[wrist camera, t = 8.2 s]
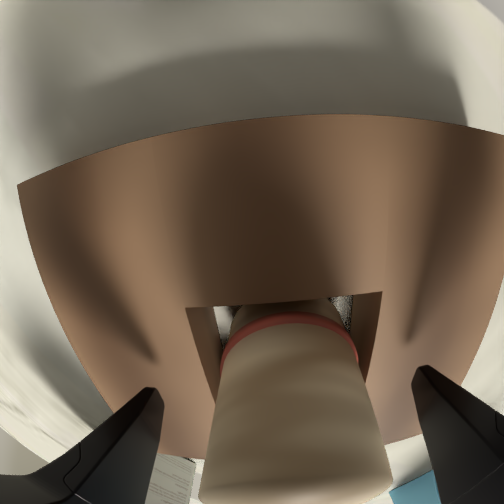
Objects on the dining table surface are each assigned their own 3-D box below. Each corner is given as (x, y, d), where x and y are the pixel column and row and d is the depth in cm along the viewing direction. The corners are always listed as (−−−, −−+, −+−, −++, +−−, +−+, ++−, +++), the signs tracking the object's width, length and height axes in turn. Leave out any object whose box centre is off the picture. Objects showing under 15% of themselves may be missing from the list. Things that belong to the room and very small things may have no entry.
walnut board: (470, 134, 8) (516, 139, 5) (419, 396, 14) (433, 429, 11) (63, 172, 10) (17, 184, 7) (155, 416, 15) (143, 450, 12)
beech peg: (341, 267, 11) (428, 445, 3) (336, 356, 12) (370, 507, 5) (222, 277, 11) (163, 468, 3) (238, 364, 13) (217, 518, 5)
